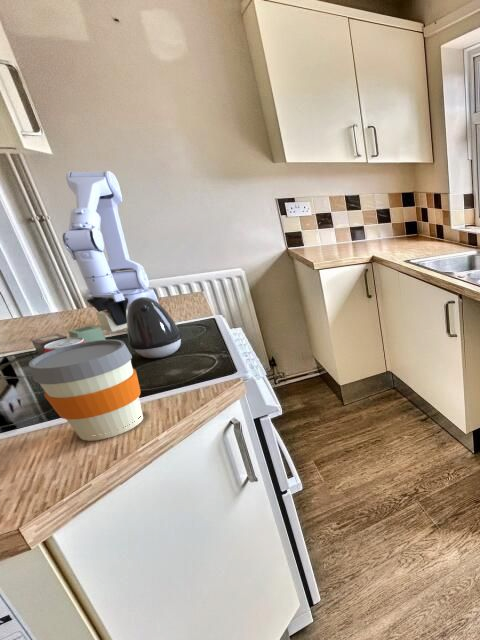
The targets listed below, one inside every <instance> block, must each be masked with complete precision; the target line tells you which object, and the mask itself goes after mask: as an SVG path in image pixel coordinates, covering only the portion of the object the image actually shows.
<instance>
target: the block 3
mask: <svg viewBox="0 0 480 640" xmlns="http://www.w3.org/2000/svg"><path fill="white" fill-rule="evenodd" d="M127 313H128V311H127V309H126V315H127ZM95 314H96V316H97V318H98V321H99V324H100V326H101V329H102V330H105V331H108V332H111V333H112V332H117V331H121V330H125V329H127V323H126V324H122V325H117V324H116V323H115V322H114V320H113V319H112V317H111V315H110V314H109V312H108V311H107V310H104V311H100V312H98V311H96V312H95Z"/></svg>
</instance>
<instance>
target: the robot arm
mask: <svg viewBox="0 0 480 640" xmlns="http://www.w3.org/2000/svg"><path fill="white" fill-rule="evenodd" d="M65 179H66V183H67V185H68V187H69V189H70V191H71V192H73V194H74V195H75V199H76V202H75V203H76V207H75V208H73V209H72V210H71V211H70V215H69V216H70V218H69V226H68V230H66V231H65V232H63V233H62V234H61V235H62V237H61V239H62V242H63V245H64V247H65V249H66V250H67V252H68V253H69V254H70V256H71V258H72V260H73V261H76V264H77V266H78V268H79V271H80V273H81V275H82V278H83V280H84V283H85V285H86V288H87V289H86V292H87V293H85V294H84V297H85V298H86V299H87V298H88V299H87V300H86V302H87V303H89V304H90V305H91V306H92V307H93V308H95V310H96V312H100V311H104V310H107V311H108V312H109V314H110V315H111V317H112V319H113V320H114V322H115V323H116V324H117V325H122V324H126V323H127V315H126V309H127V311H128V308H129V306H130V304H131V302H132V301H133V300H135V299H137V298H141V297H147V298H151V299H153V300H155V301H156V302H158V303H159V300H158V298H157V295H156V293H155V291H154V289H153V288H149V287H150V280H149V277H148V274H147V272H146V270H145V267H144V266H143V265H142V264H141V263H139V262H136V261H135V260H131V258H130V255H129V250H128V245H127V242H126V238H125V233H124V230H123V227H122V223H121V218H120V214H119V207H118V205H119V204H122V203H123V195H122V191H121V186H120V183H119V181H118V179H117V177H116V175H115V174H114V172H111V171H110V170H106V171H68V172H67V173H66V176H65ZM104 250H106V253H107V257H108V260H107V258H106V255H105V253H104Z"/></svg>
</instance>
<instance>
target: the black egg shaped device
mask: <svg viewBox="0 0 480 640" xmlns="http://www.w3.org/2000/svg"><path fill="white" fill-rule="evenodd" d="M126 330H127V337H128V342H129V345H130V348H131V349H133V350H134V351H135V353H137V354H138V355H140V357H144V358H146V359H159V358H164V357H168V356H170V355H173V354H174V353H175V352H177V351H178V350H179V348H180V347H181V344H182V333H181V331H180V329H179V328H178V326H177V324H176V321H174V319H173V318H172V316H171V315H170V314H169V312H168V311H167V310H166V309H165V308H164V307H163V305H161V304H160V303H159V301H158V302H156V301H155V300H153V299H151V298H147V297H141V298H137V299H135V300H133V301H132V302H131V304H130V306H129V308H128V313H127V328H126Z"/></svg>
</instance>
